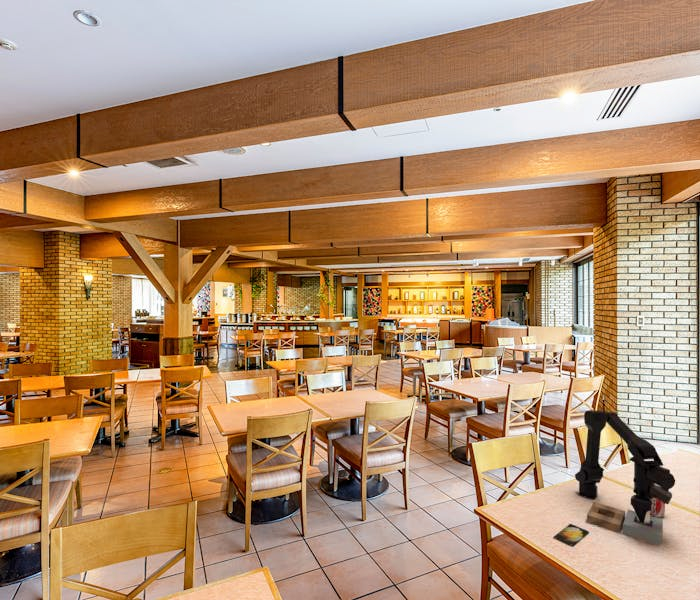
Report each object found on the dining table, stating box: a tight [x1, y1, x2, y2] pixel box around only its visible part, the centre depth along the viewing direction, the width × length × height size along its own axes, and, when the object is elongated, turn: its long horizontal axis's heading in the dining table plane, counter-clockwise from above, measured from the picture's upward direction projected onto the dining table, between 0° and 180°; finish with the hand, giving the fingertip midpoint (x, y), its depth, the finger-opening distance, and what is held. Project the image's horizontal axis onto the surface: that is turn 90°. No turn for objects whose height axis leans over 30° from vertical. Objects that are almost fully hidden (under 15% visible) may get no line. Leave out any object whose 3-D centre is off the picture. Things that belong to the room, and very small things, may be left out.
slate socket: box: [622, 509, 664, 547], centre depth 150 cm, size 11×14×4 cm
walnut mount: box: [586, 501, 626, 534], centre depth 158 cm, size 11×14×3 cm
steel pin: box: [637, 511, 650, 527], centre depth 150 cm, size 4×4×9 cm
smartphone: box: [552, 523, 590, 548], centre depth 147 cm, size 7×1×15 cm
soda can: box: [650, 483, 666, 518], centre depth 163 cm, size 7×7×12 cm
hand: (643, 517), depth 150 cm, fingers open, 9 cm apart
